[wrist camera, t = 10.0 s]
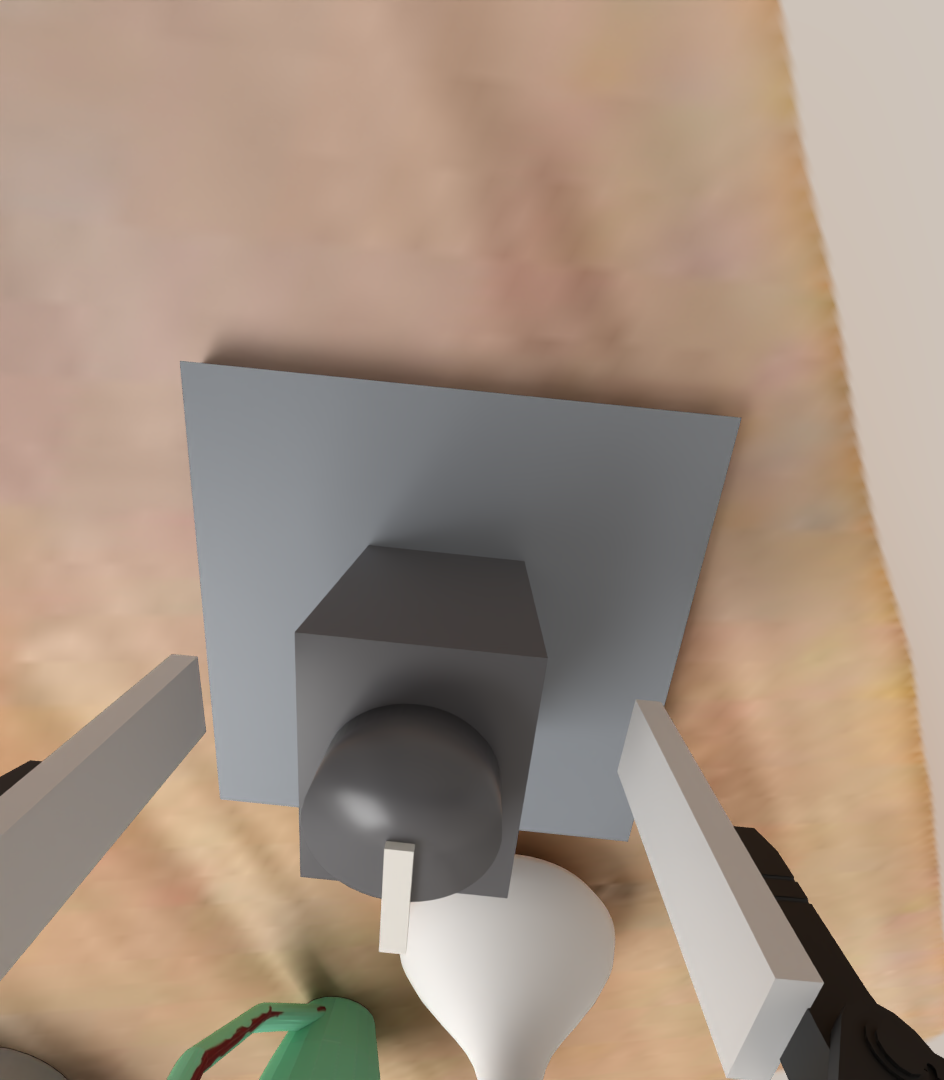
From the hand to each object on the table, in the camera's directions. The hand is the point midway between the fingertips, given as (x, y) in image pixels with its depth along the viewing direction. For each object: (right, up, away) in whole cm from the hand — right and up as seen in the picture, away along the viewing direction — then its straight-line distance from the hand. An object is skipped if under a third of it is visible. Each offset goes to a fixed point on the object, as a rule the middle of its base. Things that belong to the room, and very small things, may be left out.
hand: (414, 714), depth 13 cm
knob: (0, +1, +5) cm, 5 cm away
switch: (0, +1, +6) cm, 7 cm away
